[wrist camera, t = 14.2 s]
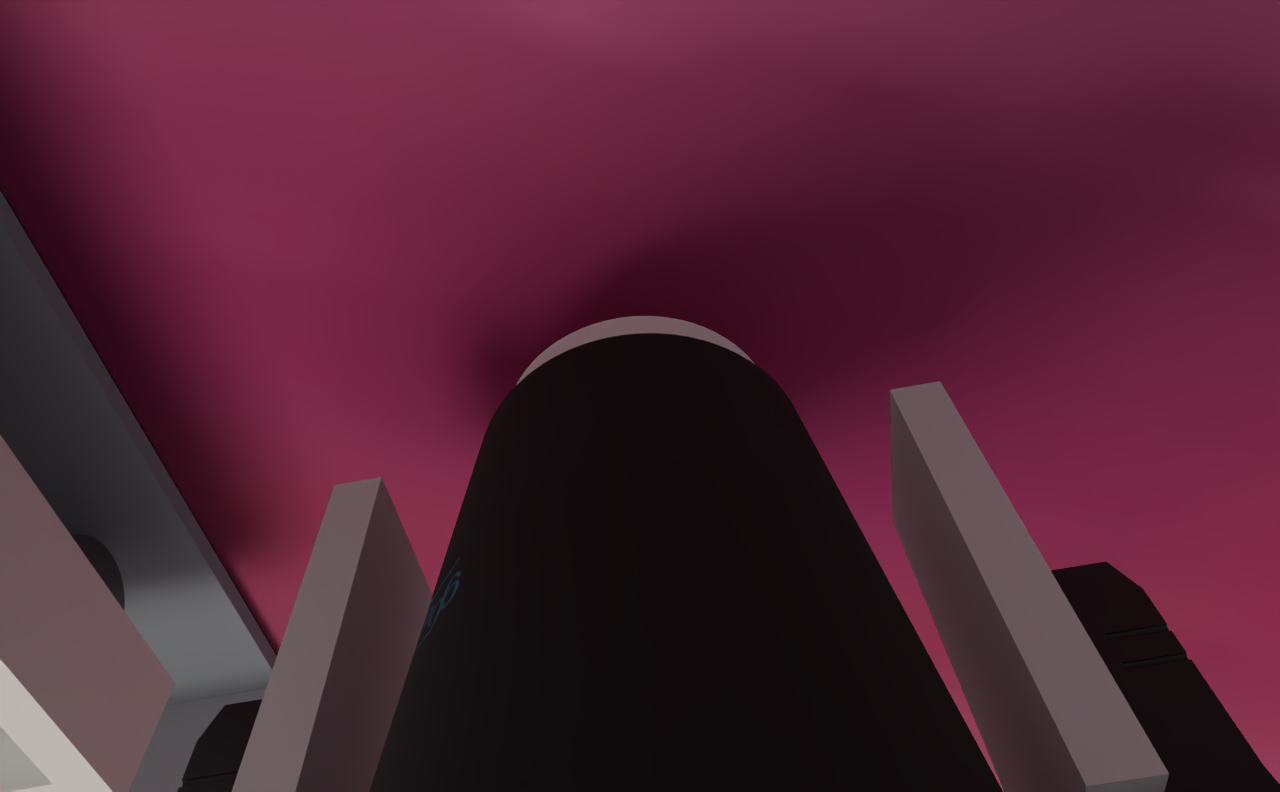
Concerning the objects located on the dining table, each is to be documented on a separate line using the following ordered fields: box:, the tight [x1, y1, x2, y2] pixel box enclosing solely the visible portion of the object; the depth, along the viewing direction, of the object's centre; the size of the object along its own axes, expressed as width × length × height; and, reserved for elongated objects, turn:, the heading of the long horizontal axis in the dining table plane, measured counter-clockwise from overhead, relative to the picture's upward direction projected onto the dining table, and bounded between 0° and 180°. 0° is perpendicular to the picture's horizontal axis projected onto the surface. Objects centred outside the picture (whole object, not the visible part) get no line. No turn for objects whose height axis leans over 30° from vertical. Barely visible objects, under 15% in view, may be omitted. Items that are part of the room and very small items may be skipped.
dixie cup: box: [369, 316, 1003, 792], centre depth 12 cm, size 8×8×11 cm
